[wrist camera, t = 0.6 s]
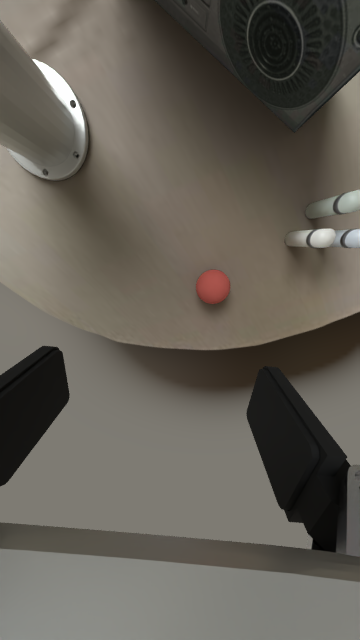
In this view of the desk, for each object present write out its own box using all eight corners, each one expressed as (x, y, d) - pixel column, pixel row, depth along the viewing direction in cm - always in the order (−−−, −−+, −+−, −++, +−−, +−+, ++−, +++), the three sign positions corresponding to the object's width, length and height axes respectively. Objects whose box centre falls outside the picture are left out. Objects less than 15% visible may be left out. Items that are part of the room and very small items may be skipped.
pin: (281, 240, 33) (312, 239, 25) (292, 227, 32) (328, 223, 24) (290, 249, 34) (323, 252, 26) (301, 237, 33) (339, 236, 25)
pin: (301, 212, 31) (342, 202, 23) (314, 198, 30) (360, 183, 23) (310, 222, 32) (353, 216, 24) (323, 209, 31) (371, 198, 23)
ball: (188, 285, 36) (190, 294, 31) (209, 260, 34) (214, 264, 29) (211, 304, 38) (216, 315, 32) (232, 280, 36) (241, 288, 30)
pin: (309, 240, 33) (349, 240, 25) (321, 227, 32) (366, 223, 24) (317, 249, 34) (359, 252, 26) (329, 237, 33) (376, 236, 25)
